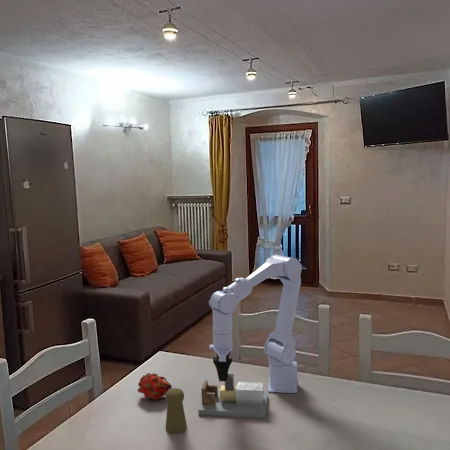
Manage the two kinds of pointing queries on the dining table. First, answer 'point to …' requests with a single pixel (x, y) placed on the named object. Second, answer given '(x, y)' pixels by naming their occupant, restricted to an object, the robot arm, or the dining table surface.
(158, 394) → the dragon fruit
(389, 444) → the dining table surface
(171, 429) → the olive green pawn
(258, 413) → the slate board
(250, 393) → the aluminium sleeve
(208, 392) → the walnut socket
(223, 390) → the brushed brass bar
